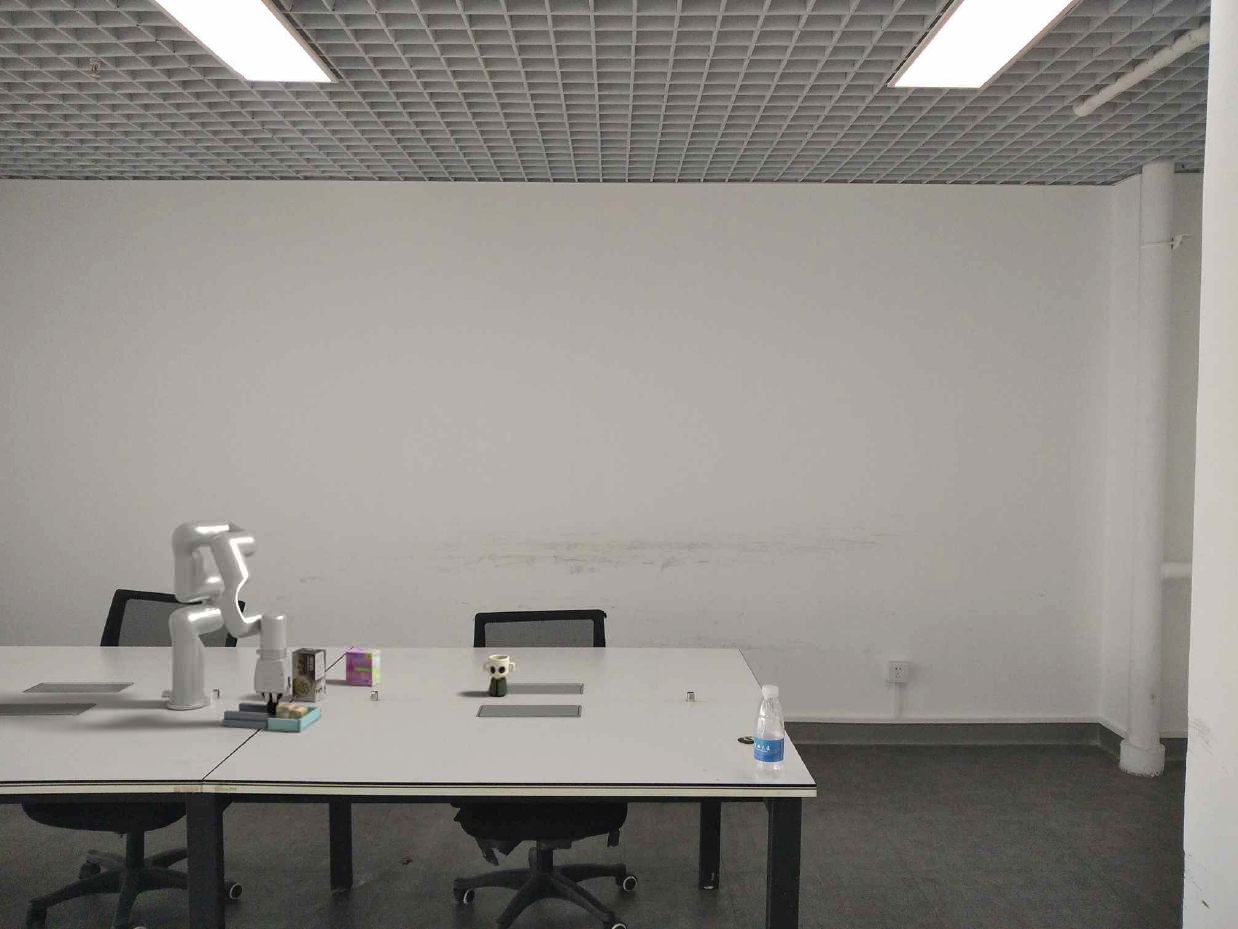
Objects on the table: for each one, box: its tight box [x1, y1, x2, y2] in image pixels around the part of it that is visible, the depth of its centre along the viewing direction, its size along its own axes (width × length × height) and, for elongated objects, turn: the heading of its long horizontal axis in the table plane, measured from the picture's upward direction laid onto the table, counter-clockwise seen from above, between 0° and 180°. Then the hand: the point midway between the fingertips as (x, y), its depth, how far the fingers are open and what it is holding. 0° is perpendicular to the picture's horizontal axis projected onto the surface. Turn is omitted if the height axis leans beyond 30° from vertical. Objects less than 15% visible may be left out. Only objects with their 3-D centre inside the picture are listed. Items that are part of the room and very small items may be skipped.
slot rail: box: [221, 702, 276, 730], centre depth 287 cm, size 14×12×4 cm
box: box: [345, 647, 381, 687], centre depth 332 cm, size 10×6×12 cm, turn 76°
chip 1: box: [276, 701, 296, 719], centre depth 286 cm, size 4×4×4 cm
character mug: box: [482, 654, 516, 696], centre depth 321 cm, size 11×7×13 cm, turn 87°
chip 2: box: [288, 705, 308, 720], centre depth 285 cm, size 4×4×4 cm
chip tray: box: [267, 705, 322, 733], centre depth 285 cm, size 10×14×4 cm
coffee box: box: [291, 647, 327, 703], centre depth 312 cm, size 9×6×16 cm
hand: (272, 713), depth 286 cm, fingers closed
